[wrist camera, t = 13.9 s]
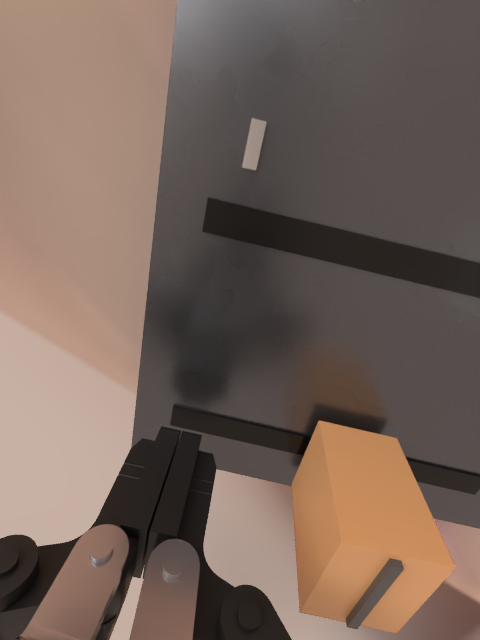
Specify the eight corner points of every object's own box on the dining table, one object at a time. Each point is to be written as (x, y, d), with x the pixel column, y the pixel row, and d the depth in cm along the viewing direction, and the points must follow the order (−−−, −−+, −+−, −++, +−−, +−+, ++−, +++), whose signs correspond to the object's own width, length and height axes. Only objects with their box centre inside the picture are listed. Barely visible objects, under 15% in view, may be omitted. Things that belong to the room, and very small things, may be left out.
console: (211, -108, 9) (195, -186, 7) (801, 45, 9) (947, 13, 7) (146, 417, 16) (130, 451, 14) (459, 489, 17) (484, 531, 15)
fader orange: (318, 420, 12) (343, 550, 8) (397, 438, 12) (459, 576, 8) (291, 484, 14) (300, 620, 10) (360, 500, 14) (398, 641, 10)
